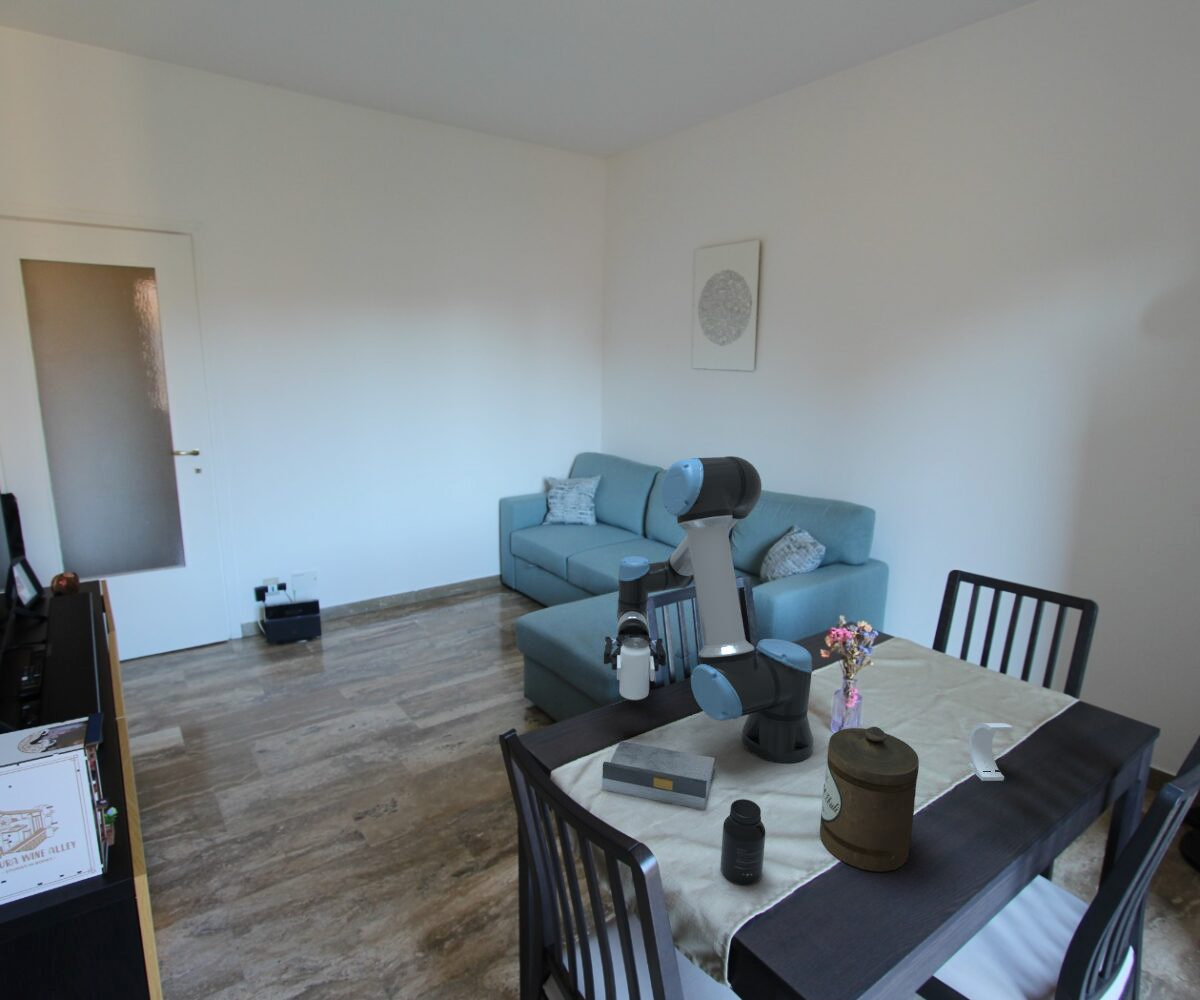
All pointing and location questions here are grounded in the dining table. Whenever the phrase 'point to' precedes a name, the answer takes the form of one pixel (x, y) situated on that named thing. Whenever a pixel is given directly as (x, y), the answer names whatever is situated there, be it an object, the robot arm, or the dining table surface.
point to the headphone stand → (985, 750)
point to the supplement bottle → (743, 843)
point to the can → (635, 669)
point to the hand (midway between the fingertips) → (635, 674)
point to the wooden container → (869, 798)
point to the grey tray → (659, 774)
